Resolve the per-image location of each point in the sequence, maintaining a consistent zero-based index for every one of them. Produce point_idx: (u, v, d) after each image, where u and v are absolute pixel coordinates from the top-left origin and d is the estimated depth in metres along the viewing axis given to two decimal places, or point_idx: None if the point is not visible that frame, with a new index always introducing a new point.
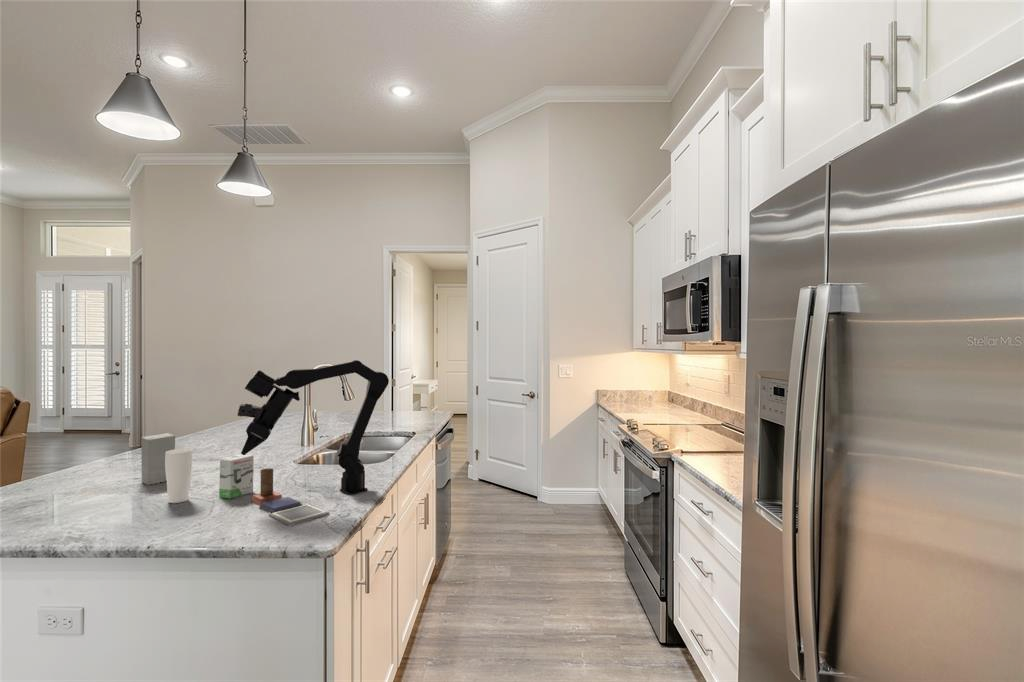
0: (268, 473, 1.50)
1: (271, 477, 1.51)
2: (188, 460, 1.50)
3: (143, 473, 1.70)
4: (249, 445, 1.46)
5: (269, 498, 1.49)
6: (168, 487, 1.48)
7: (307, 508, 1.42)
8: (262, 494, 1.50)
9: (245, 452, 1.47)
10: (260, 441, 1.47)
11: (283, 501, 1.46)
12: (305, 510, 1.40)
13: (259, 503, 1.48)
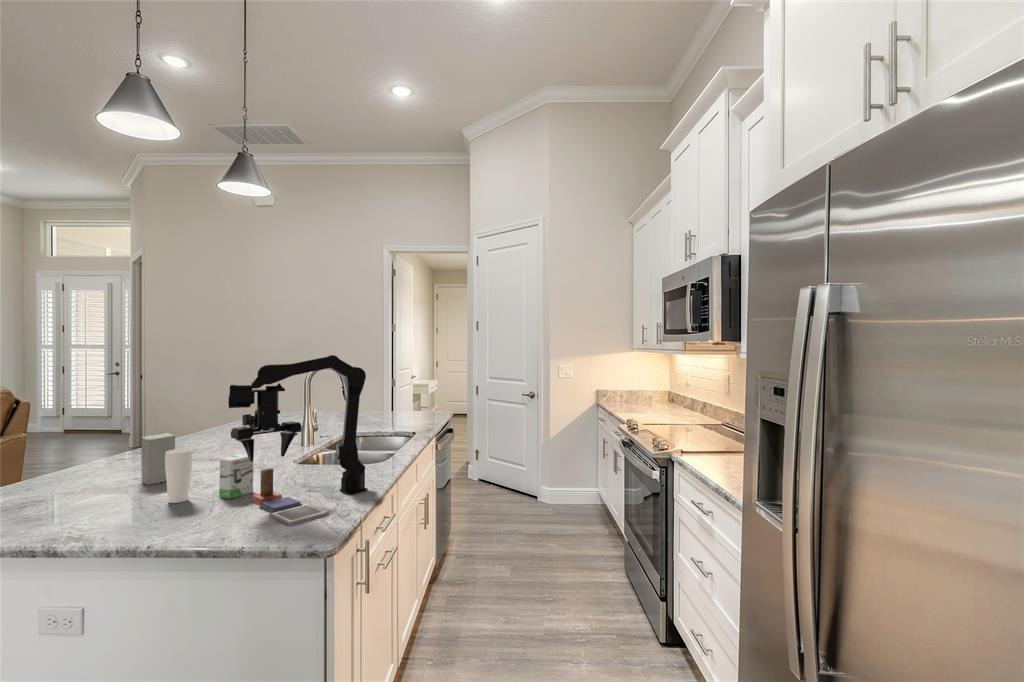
0: (268, 473, 1.50)
1: (271, 477, 1.51)
2: (188, 460, 1.50)
3: (143, 473, 1.70)
4: (247, 451, 1.47)
5: (269, 498, 1.49)
6: (168, 487, 1.48)
7: (307, 508, 1.42)
8: (262, 494, 1.50)
9: (250, 458, 1.47)
10: (247, 443, 1.45)
11: (283, 501, 1.46)
12: (305, 510, 1.40)
13: (259, 503, 1.48)
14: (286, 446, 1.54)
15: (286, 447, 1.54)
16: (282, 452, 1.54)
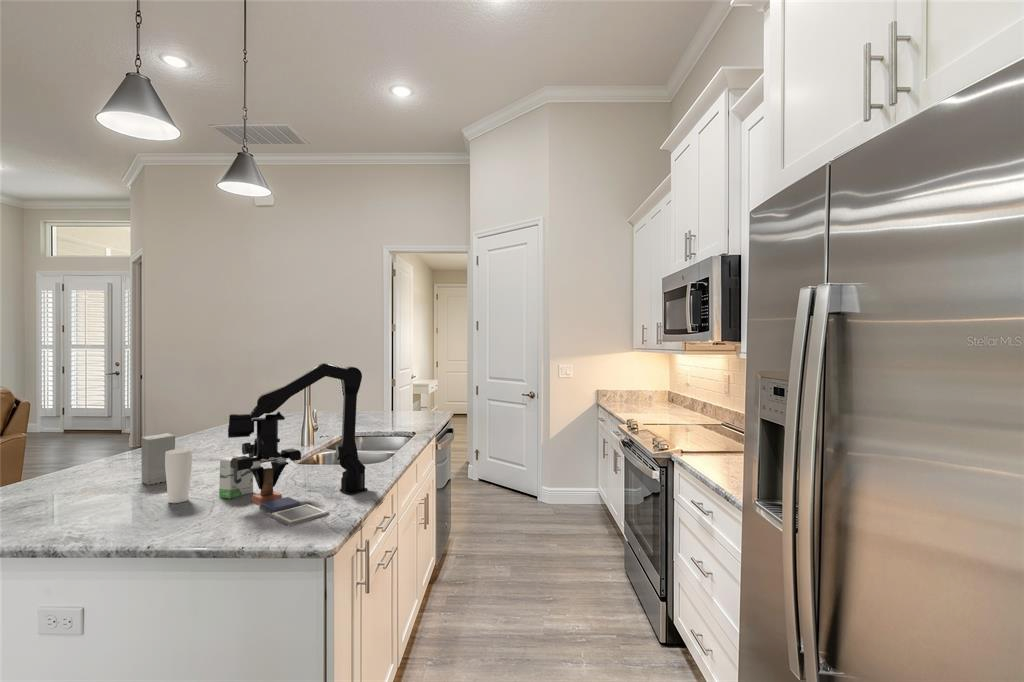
0: (268, 473, 1.50)
1: (271, 477, 1.51)
2: (188, 460, 1.50)
3: (143, 473, 1.70)
4: (257, 478, 1.49)
5: (269, 497, 1.49)
6: (168, 487, 1.48)
7: (307, 508, 1.42)
8: (262, 494, 1.50)
9: (259, 486, 1.49)
10: (256, 471, 1.47)
11: (283, 501, 1.46)
12: (305, 510, 1.40)
13: (259, 503, 1.48)
14: (277, 476, 1.52)
15: (276, 477, 1.52)
16: (273, 482, 1.52)
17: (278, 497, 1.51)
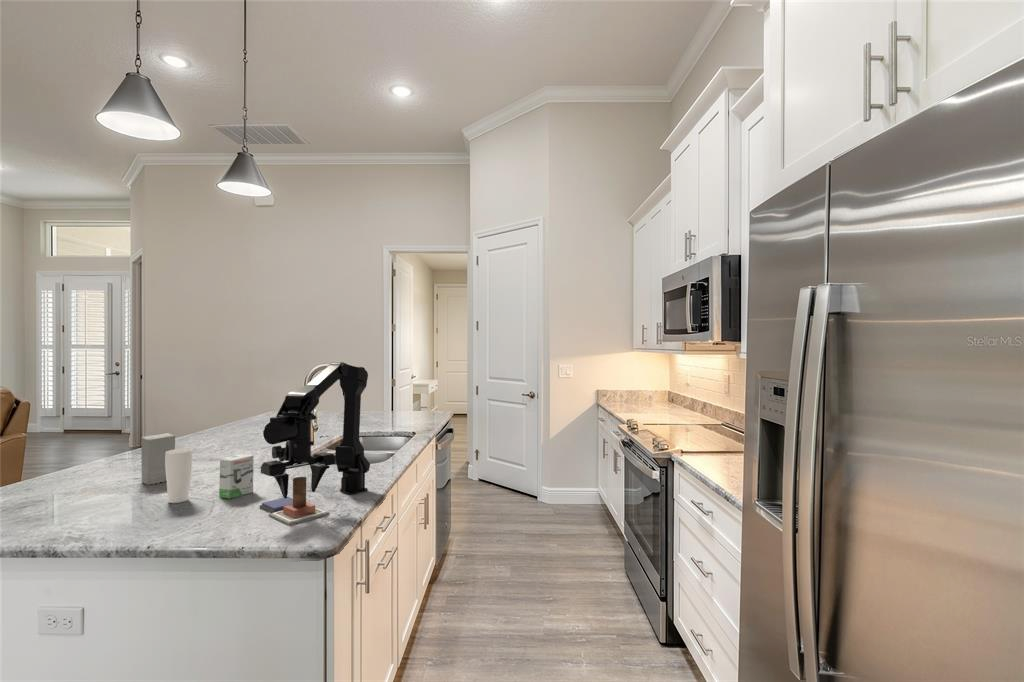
0: (301, 482, 1.37)
1: (304, 486, 1.38)
2: (188, 460, 1.50)
3: (143, 473, 1.70)
4: (281, 487, 1.35)
5: (303, 509, 1.36)
6: (168, 487, 1.48)
7: None
8: (295, 505, 1.37)
9: (284, 495, 1.35)
10: (281, 479, 1.33)
11: (283, 501, 1.46)
12: None
13: (292, 515, 1.35)
14: (318, 480, 1.41)
15: (317, 482, 1.41)
16: (313, 487, 1.41)
17: (312, 508, 1.38)
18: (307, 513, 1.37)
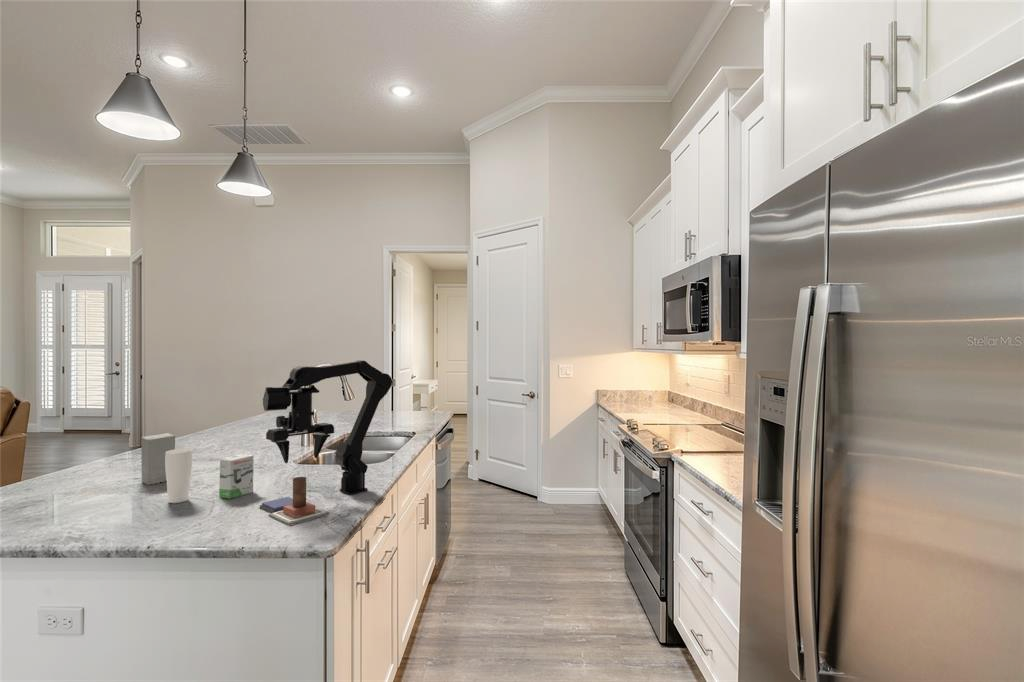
0: (301, 482, 1.37)
1: (304, 486, 1.38)
2: (188, 460, 1.50)
3: (143, 473, 1.70)
4: (282, 452, 1.48)
5: (303, 509, 1.36)
6: (168, 487, 1.48)
7: None
8: (295, 505, 1.37)
9: (285, 460, 1.48)
10: (283, 445, 1.46)
11: (283, 501, 1.46)
12: None
13: (292, 515, 1.35)
14: (320, 447, 1.55)
15: (319, 448, 1.55)
16: (315, 453, 1.55)
17: (312, 508, 1.38)
18: (307, 513, 1.37)
